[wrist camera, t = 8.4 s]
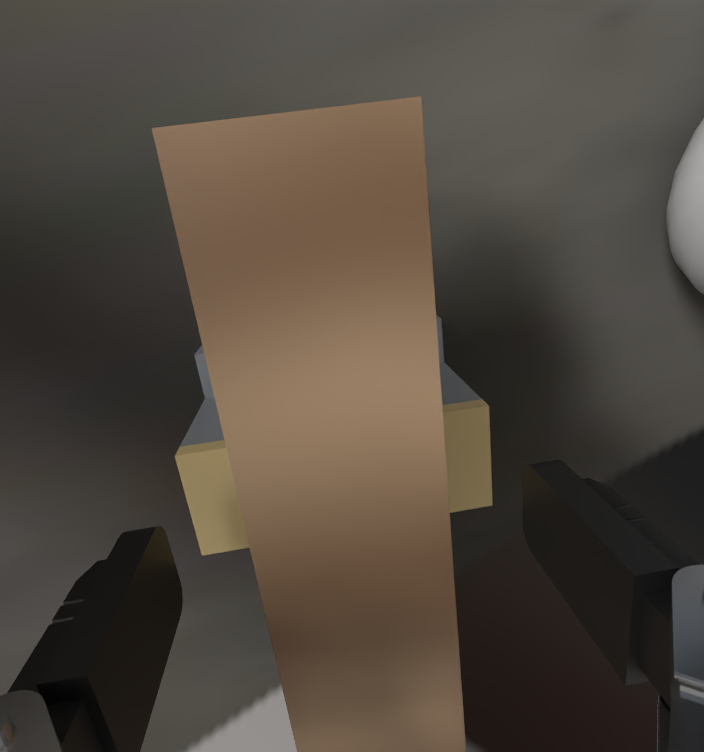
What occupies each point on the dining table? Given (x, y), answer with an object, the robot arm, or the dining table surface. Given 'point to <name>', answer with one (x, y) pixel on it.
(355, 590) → the walnut bar
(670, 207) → the donut
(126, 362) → the dining table surface
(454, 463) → the ridge block
